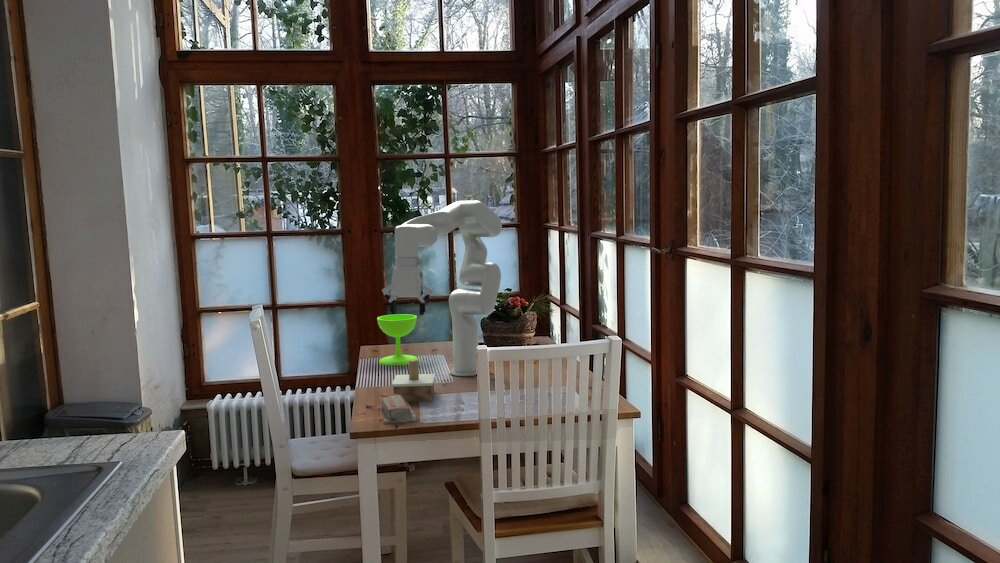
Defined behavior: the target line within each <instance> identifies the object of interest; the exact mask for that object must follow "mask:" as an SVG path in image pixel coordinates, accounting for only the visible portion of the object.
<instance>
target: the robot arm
mask: <svg viewBox="0 0 1000 563" xmlns="http://www.w3.org/2000/svg"><path fill="white" fill-rule="evenodd" d="M499 216H500V215H498V214H497V213H496V212H495V211H493V209H491V207H490V206H488V205H487V204H485V203H484V202H482V201H481V200H456V201H455V202H452V203H451V204H449V205H446V206H445V207H443V208H441V209H440V210H437V211H435V212H431V213H428V214H424V215H421V216H418V217H415V218H412V219H409V220H407V221H405V222H404V223H402V224H401V225H396V226H395V228H394V252H395V253H394V254H395V256H394V258H395V259H394V260H395V261H394V262H395V266H394V267H393V269H392V274H391V284H390V285H386V286H385V287H383V288H382V289H381V291H382V293H383V296H384V298H385V299H386V300H387V301H388V303H389V312H390V313H391V314H390V315H395V314H397V301H396V300H397V298H417V299H418V301H419V305H418V307H419V308H418V309H419V316H424V314H425V313H426V302H427V301H428V300H429V299H430V298H431V297H432V294H433V292H434V289H433V288H431V287H430V286H427V285H425V284H424V276H423V270H422V266H419V265H420V264H423V259H420V257H419V247H420V248H421V247H425V248H427V247H432V246H433V245H434V244H436V242H438V238H439V236H441V235H446V234H449V233H451V232H453V231H454V230H456V229H457V228H458V230H459V232H460V235H461V237H462V240H463V244H464V253H463V254H464V255H463V259H462V262H461V266H460V270H459V278H458V281H459V282H460V284H461V285H462V286H465V287H468V288H457V289H454V290H453V291H452V292H451V293H449V294H450V295H449V297H448V305H449V307H448V308H449V311H450V315H451V328H452V353H453V354H452V358H453V359H452V360H453V367H452V368H450V369H449V374H450V375H453V376H456V377H474V376H477V375H476V347H477V346H478V347H479V327H478V326H479V325H478V322H477V320H476V318H475V316H482V317H484V316H485V317H486V316H489V315H491V314H492V313H493V311H494V309H495V306H496V302H497V299H498V293H499V290H500V285H501V280H502V279H501V278H502V272H501V269H500V267H499V265H498V264H497V263H495V262H490V261H487V257H488V249H487V246H486V244H485V243H484V241H483V240H482V238H494V237H498V236H499V235H500V233H501V232H502V230H503V224H502V219H501V218H500V217H499ZM470 287H471V288H470ZM474 288H475V289H474ZM478 288H480V289H478ZM390 290H391V295H390V294H389V291H390ZM425 291H426V292H427V293H426V295H425V296H424V294H425ZM491 368H492V364H491V365H490V368H489V369H491Z"/></svg>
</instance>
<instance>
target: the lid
mask: <svg viewBox="0 0 1000 563" xmlns="http://www.w3.org/2000/svg"><path fill="white" fill-rule="evenodd" d="M418 360H419V359H418ZM418 360H409V361H408V374H396V375H395V376H394V379H393V381H392V382H391V388H394V387H401V386H433V383H434V384H435V380H436V373H420V372H419V371H420V370H419V361H418Z"/></svg>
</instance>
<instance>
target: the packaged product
mask: <svg viewBox="0 0 1000 563" xmlns="http://www.w3.org/2000/svg"><path fill="white" fill-rule="evenodd" d="M376 407H377V408H378V409H379V408H381V411H382V412H383V414H384V415H385V417H386V418H382V421H383V423H384V424H385V425H388V424H396V423H406V422H416V421H417V420H418V416H417V415H416V413H415V412H414V410H413V408H412V407H411V405H410V402H406V401H405V400H404V398H403V397H402V395H398V394H396V395H394V394H392V395H389V396H387V397H384V398H382V399H381V401H380V406H376Z"/></svg>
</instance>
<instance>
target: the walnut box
mask: <svg viewBox="0 0 1000 563" xmlns="http://www.w3.org/2000/svg"><path fill="white" fill-rule="evenodd" d="M396 394H398V395H402V397H403V398H404V400H405V401H406V402H408V403H416V402H417V403H420V402H423V403H424V402H432V401H433V398H434V394H435V382H434V383H433V386H401V387H393V395H396Z"/></svg>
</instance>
